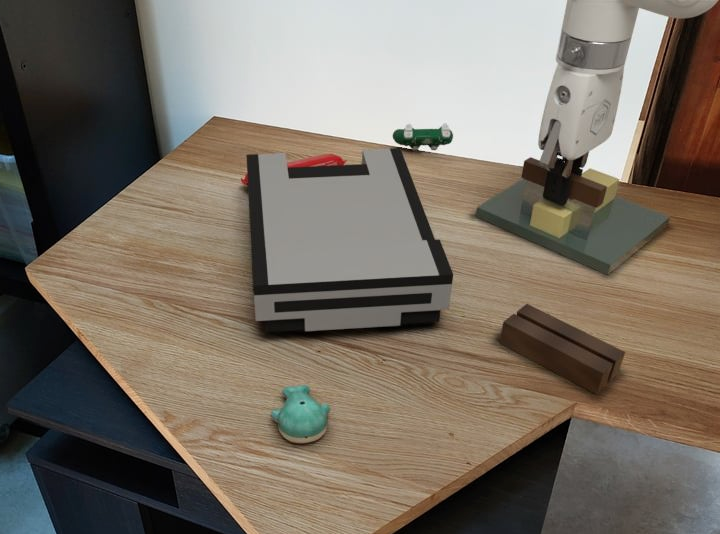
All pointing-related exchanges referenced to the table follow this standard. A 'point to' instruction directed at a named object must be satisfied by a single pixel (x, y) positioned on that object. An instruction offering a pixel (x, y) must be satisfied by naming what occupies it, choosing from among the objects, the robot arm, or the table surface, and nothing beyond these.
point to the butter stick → (604, 180)
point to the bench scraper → (580, 198)
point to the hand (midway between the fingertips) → (559, 197)
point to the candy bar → (311, 163)
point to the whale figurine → (301, 416)
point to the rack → (562, 348)
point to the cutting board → (600, 251)
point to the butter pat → (550, 218)
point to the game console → (342, 246)
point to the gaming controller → (423, 137)
